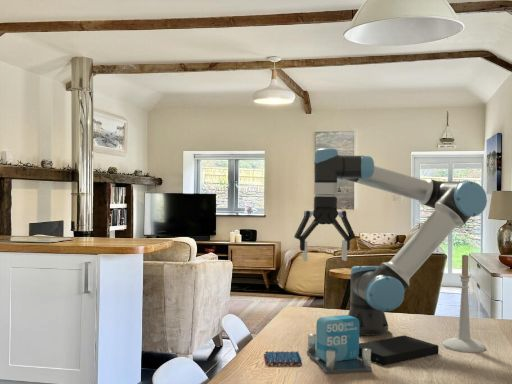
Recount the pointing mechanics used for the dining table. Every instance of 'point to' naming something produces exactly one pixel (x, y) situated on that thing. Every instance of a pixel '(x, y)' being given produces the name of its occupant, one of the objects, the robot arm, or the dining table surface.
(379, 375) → the dining table surface
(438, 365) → the dining table surface
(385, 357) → the external hard drive
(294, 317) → the dining table surface
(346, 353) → the data package
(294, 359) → the woven mat
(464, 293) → the candlestick
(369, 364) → the chassis
